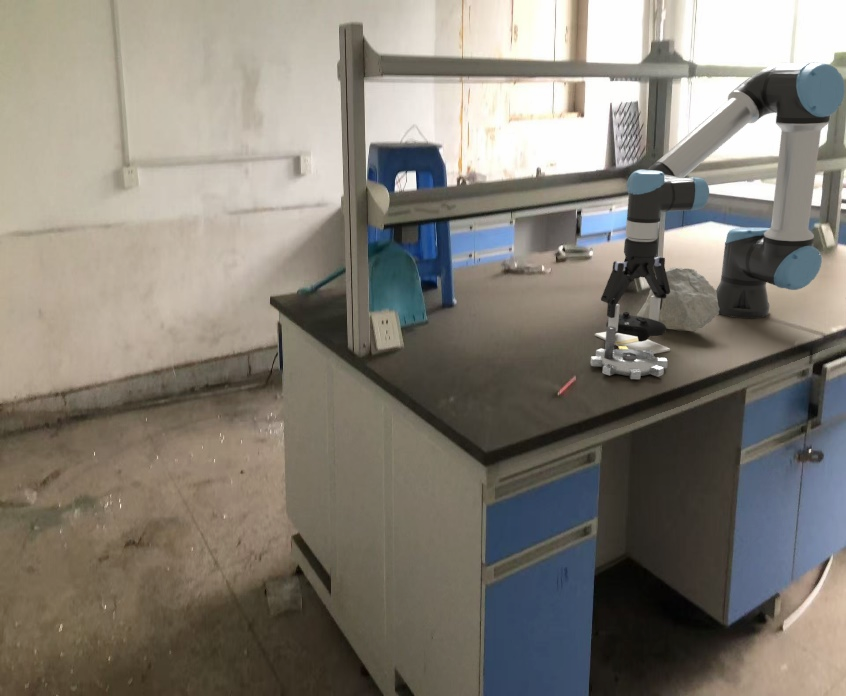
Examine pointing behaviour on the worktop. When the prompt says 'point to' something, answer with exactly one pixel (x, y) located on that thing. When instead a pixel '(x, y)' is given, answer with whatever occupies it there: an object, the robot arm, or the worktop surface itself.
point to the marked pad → (635, 343)
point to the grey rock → (685, 301)
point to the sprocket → (627, 359)
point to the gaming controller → (639, 326)
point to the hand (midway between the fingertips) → (633, 326)
